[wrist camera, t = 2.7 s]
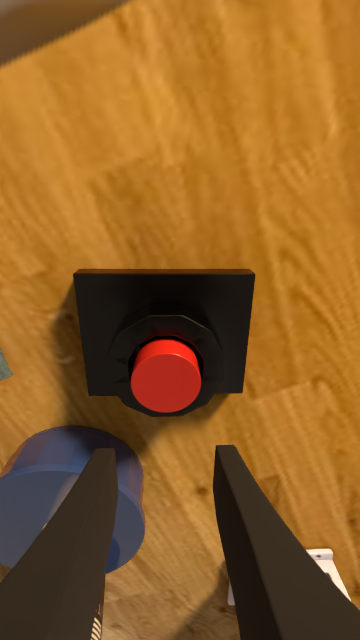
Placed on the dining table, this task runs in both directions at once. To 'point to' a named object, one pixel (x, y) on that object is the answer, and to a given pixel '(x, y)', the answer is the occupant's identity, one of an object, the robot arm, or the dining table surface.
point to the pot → (78, 453)
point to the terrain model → (4, 368)
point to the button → (165, 375)
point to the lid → (43, 501)
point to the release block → (164, 325)
